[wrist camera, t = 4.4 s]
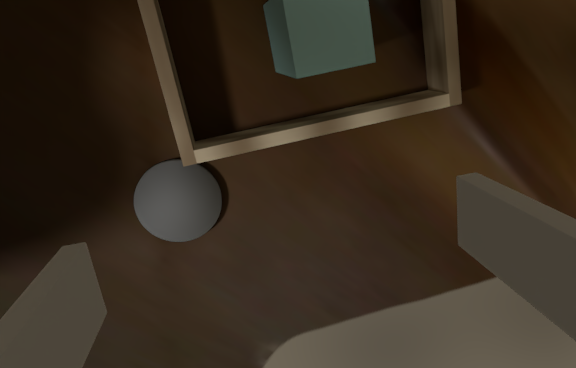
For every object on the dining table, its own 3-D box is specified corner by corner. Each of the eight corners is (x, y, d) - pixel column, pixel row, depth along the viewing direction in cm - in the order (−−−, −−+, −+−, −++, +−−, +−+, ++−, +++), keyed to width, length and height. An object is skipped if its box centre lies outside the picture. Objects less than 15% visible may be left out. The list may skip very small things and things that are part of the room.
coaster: (148, 247, 37) (147, 250, 37) (123, 169, 35) (122, 171, 34) (230, 227, 38) (230, 230, 37) (210, 150, 36) (210, 152, 35)
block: (275, 72, 35) (296, 78, 26) (263, 5, 33) (280, -11, 25) (336, 59, 35) (375, 62, 27) (326, -7, 34) (365, -27, 25)
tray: (185, 155, 36) (183, 166, 32) (130, -48, 31) (120, -60, 28) (439, 99, 38) (461, 103, 34) (424, -99, 33) (447, -116, 30)
